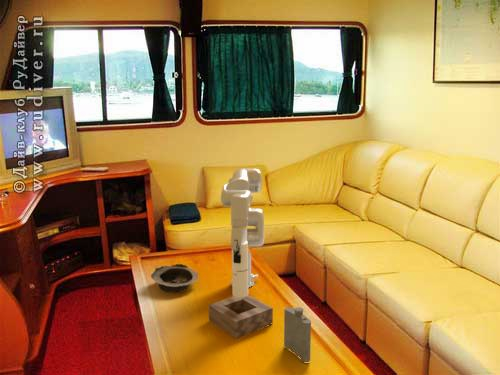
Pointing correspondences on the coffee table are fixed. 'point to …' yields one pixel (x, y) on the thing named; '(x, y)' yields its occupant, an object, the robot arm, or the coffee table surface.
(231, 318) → the walnut well block
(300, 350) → the hip flask
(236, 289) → the cylindrical container
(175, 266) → the stone bowl
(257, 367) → the coffee table surface
